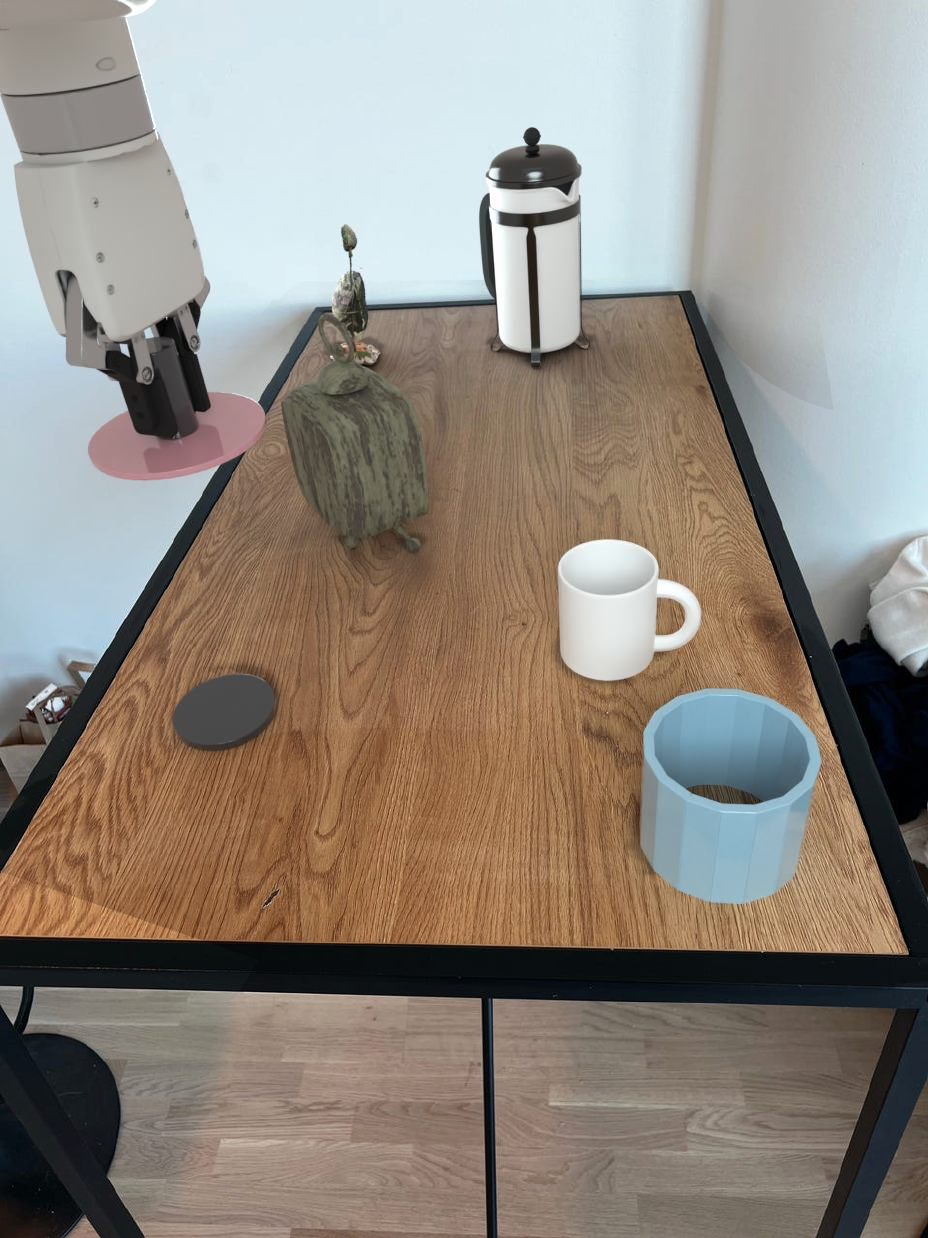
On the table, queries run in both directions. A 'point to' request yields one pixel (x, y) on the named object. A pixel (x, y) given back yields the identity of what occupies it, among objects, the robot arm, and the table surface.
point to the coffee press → (533, 246)
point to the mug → (616, 609)
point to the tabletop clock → (356, 448)
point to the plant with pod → (353, 306)
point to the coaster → (224, 712)
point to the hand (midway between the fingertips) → (173, 418)
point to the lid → (199, 433)
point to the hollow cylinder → (739, 758)
